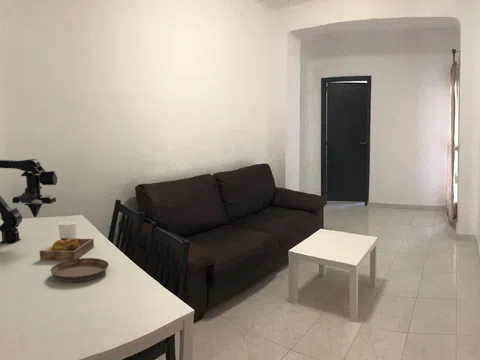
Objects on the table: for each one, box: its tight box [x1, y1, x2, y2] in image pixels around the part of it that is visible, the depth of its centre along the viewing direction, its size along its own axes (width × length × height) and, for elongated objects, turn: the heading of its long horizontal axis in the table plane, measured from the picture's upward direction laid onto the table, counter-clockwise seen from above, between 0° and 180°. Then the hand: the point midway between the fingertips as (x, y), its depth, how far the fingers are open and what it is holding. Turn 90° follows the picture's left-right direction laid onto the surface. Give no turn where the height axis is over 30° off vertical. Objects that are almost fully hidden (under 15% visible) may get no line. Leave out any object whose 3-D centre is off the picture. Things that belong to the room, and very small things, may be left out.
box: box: [39, 237, 95, 262], centre depth 173 cm, size 15×19×4 cm
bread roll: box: [48, 239, 79, 251], centre depth 171 cm, size 13×10×8 cm
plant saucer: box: [49, 257, 109, 283], centre depth 149 cm, size 21×21×3 cm
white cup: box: [58, 220, 77, 240], centre depth 187 cm, size 8×8×10 cm
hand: (35, 216), depth 189 cm, fingers closed
